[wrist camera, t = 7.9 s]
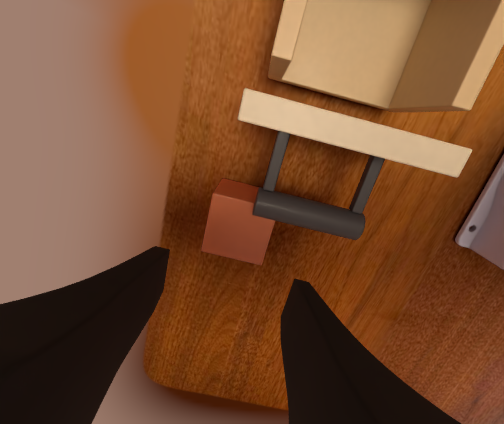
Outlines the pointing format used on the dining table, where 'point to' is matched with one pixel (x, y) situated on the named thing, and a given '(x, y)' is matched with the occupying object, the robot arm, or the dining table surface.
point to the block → (236, 224)
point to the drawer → (371, 89)
